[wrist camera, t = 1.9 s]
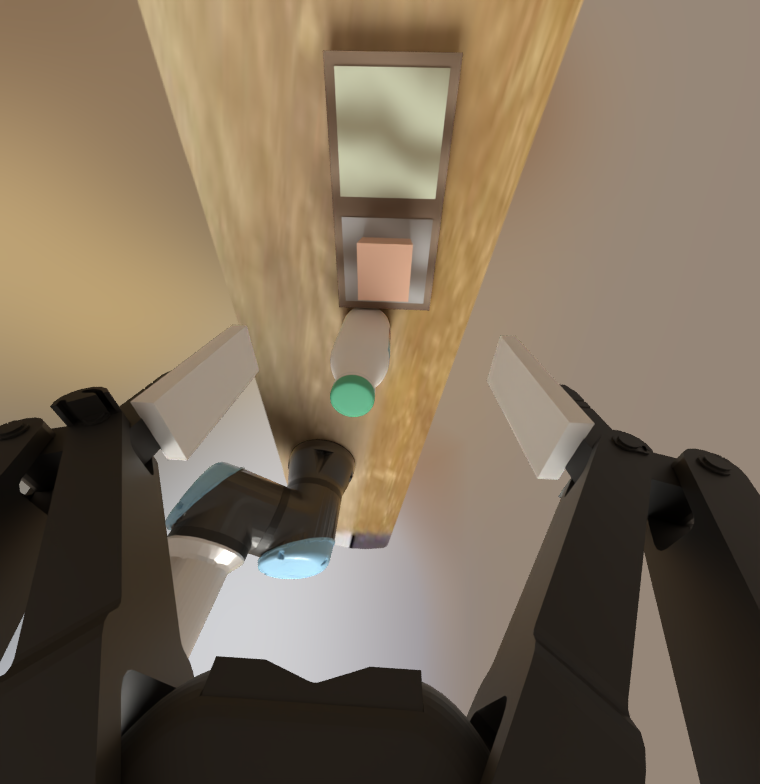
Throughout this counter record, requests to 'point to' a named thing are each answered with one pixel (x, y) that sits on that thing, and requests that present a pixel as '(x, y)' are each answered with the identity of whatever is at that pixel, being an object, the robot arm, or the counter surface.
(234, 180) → the counter surface
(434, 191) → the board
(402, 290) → the terracotta block
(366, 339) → the milk bottle
